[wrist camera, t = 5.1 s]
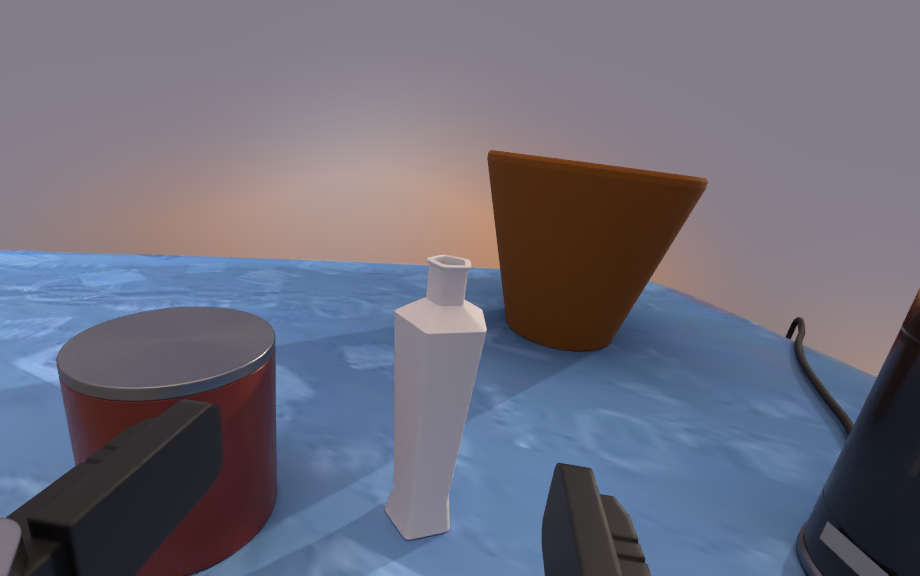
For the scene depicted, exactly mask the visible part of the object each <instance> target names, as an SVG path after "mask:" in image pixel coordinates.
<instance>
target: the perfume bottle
mask: <svg viewBox="0 0 920 576" xmlns="http://www.w3.org/2000/svg"><path fill="white" fill-rule="evenodd" d="M427 261H428V262H429V264H430V265H429V274H428V283H427V293H426V297H424V298H422V299H420V300H417V301H415V302H412V303H410V304H407V305H405V306H403V307H400V308H398V309H396V310H395V356H394V488H393V490H392V492H391V495H390V497H389V499H388V502H387V504H386V506H385V512H386V513H387V515H388V516H389V517H390V519H391V520H392V522H393V523H394V525H395V526H396V527H397V529H398V530H399V532H400V533H401V535H402V536H403V537H404V538H405V539H407V540H411V539H416V538H421V537H426V536H430V535H435V534H440V533H444V532H447V531H448V530H449V528H450V518H449V491H450V487H451V483H452V478H453V474H454V469H455V465H456V461H457V456H458V452H459V448H460V443H461V439H462V435H463V430H464V426H465V422H466V417H467V413H468V409H469V404H470V400H471V396H472V391H473V387H474V383H475V378H476V374H477V370H478V365H479V361H480V357H481V352H482V348H483V344H484V339H485V335H486V331H487V328H486V324H485V320H484V315H483V311H482V309H480V308H478V307H477V306H475V305H473V304H472V303H470V302H468V301H467V300H465V299H464V298H465V291H466V283H467V276H468V270H470V269H471V267H472V266H471V262H470V260H468V259H464V258H459V257H453V256H448V255H438V256H434V257H429V258H427Z"/></svg>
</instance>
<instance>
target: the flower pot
mask: <svg viewBox="0 0 920 576" xmlns="http://www.w3.org/2000/svg"><path fill="white" fill-rule="evenodd" d="M487 159H488V167H489V175H490V184H491V192H492V202H493V210H494V218H495V227H496V236H497V245H498V253H499V261H500V270H501V279H502V288H503V296H504V305H505V313H506V321H507V323H508V325H509V326H510V327H511V328H512V329H513V330H514V331H515V332H516V333H518V334H519V335H521V336H522V337H524V338H526V339H528V340H530V341H533V342H535V343H538V344H541V345H544V346H548V347H551V348H556V349H561V350H568V351H592V350H598V349H601V348H604V347H606V346H607V345H609V344H610V343H611V341H612V339H613V338H614V336H615V335H616V333H617V331H618V330H619V328H620V326H621V325H622V323H623V322H624V320H625V318H626V317H627V315H628V314H629V312H630V310H631V309H632V307H633V305H634V304H635V302H636V301H637V299H638V297H639V296H640V294H641V292H642V291H643V289H644V288H645V286H646V284H647V283H648V281H649V280H650V278H651V276H652V275H653V273H654V271H655V270H656V268H657V267H658V265H659V263H660V262H661V260H662V259H663V257H664V255H665V254H666V252H667V250H668V249H669V247H670V245H671V244H672V242H673V241H674V239H675V237H676V236H677V234H678V233H679V231H680V229H681V228H682V226H683V224H684V223H685V221H686V220H687V218H688V216H689V214H690V213H691V212H692V210H693V208H694V207H695V205H696V203H697V202H698V200H699V199H700V197H701V195H702V194H703V192H704V191H705V189H706V187H707V183H708V181H707V179H706V178H699V177H692V176H685V175H678V174H670V173H663V172H656V171H648V170H641V169H633V168H625V167H618V166H610V165H603V164H595V163H588V162H580V161H572V160H564V159H557V158H549V157H542V156H534V155H526V154H518V153H510V152H502V151H494V150H491V151H490V152H489V153H488V158H487Z"/></svg>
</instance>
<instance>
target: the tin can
mask: <svg viewBox="0 0 920 576" xmlns="http://www.w3.org/2000/svg"><path fill="white" fill-rule="evenodd" d="M56 361H57V369H58V374H59V380H60V385H61V391H62V396H63V401H64V407H65V412H66V417H67V423H68V428H69V433H70V439H71V444H72V449H73V455H74V460H75V465H76V466H77V465H78V464H79V463H81V462H83V463H84V462H85V461H86V458H88V457H89V456H90V455H92V454H93V453H94V452H96V451H97V450H98V449H100V448H101V449H103V448H104V445H105V444H107V443H108V442H109V441H111V440H112V439H113V438H115V437H116V436H117V435H119V434H120V433H122V432H123V431H124V430H126V429H127V428H130V427H132V426H134V425H136V424H139V423H141V422H143V421H145V420H147V419H150V418H152V417H156V418H157V417H158V416H160V415H161V414H162V413H164V412H165V411H166V410H168V409H169V408H170V407H171V406H173V405H174V404H175V403H177V402H178V401H180V400H183V399H188V400H194V401H200V402H206V403H211V404H216V405H218V406H219V408H220V411H221V429H222V450H223V461H222V467H221V470H220V473H219V475H218V477H217V479H216V481H215V483H214V484H213V485H212V487H211V488H210V489H209V490H208V491H207V493H206V494H205V495H204V496H203V497H202V498H201V499H200V501H199V502H198V503H197V504H196V505H195V506H194V508H193V509H192V510H191V511H190V512H189V513H188V514H187V516H186V517H185V518H184V519H183V520H182V521H181V523H180V524H179V525H178V526H177V527H176V528H175V529H174V531H173V532H172V533H171V534H170V535H169V536H168V538H167V539H166V540H165V541H164V542H163V543H162V544H161V546H160V547H159V548H158V549H157V550H156V551H155V553H154V554H153V555H152V556H151V557H150V558H149V559H148V561H147V562H146V563H145V564H144V565H143V566H142V568H141V569H140V570H139V571H138V572H137V573H136V574H135V576H185V575H189V574H192V573H195V572H198V571H200V570H203V569H206V568H208V567H210V566H212V565H214V564H216V563H218V562H220V561H222V560H223V559H225V558H227V557H229V556H230V555H232V554H233V553H235V552H236V551H237V550H239V549H240V548H242V547H243V546H244V545H245V544H246V543H248V542H249V541H250V540H251V539H252V538H253V537H254V536H255V535H256V534H257V533H258V532H259V531H260V529H261V528H262V527H263V525H264V524H265V523H266V521H267V520H268V518H269V516H270V515H271V512H272V510H273V508H274V505H275V501H276V495H277V460H276V365H275V332H274V330H273V328H272V326H271V325H270V324H269V323H268V322H266V321H265V320H264V319H262V318H260V317H258V316H256V315H253V314H250V313H247V312H243V311H239V310H234V309H228V308H218V307H176V308H166V309H158V310H151V311H145V312H140V313H135V314H131V315H127V316H123V317H119V318H116V319H112V320H109V321H106V322H104V323H101V324H98V325H96V326H93V327H91V328H89V329H87V330H85V331H83V332H81V333H79V334H77V335H76V336H75V337H73V338H72V339H70V340H69V341H68V342H67V343H66V344H65V345H63V347H62V348H61V349H60V351H59V353H58V356H57V358H56Z"/></svg>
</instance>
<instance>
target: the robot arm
mask: <svg viewBox="0 0 920 576" xmlns="http://www.w3.org/2000/svg"><path fill="white" fill-rule="evenodd" d="M797 325H798V331H799V333H798V335H797V338H796V340H795V351H796V355H797V358H798V360H799V363H800V365H801V367H802V369H803V371H804V372H805V374H806V376H807V377H808V379H809V380H810V381H811V383H812V384H813V386H814V387H815V389H816V390H817V391H818V393H819V394H820V396H821V397H822V399H823V400H824V401H825V402H826V404H827V405H828V406H829V407H830V409H831V410H832V411H833V412H834V414H835V415H836V416H837V417H838V419H839V420H840V422H841V423H842V425H843V426H844V428H845V430H846V432H847V434H848V439H847V441H846V443H845V445H844V447H843V449H842V451H841V453H840V455H839V457H838V459H837V461H836V464H835V466H834V468H833V470H832V472H831V474H830V476H829V478H828V480H827V482H826V484H825V485H824V487H823V490H822V492H821V494H820V496H819V498H818V500H817V502H816V504H815V506H814V508H813V510H812V513H811V515H810V517H809V519H808V520H807V521H806V522H805V523H804V524H803V526H802V528H801V530H800V532H799V535H798V537H797V543H796V546H797V552H798V555H799V558H800V561H801V563H802V565H803V567H804V569H805V571H806V572H807V574H808V575H809V576H920V289H919V291H918V293H917V295H916V297H915V299H914V301H913V303H912V305H911V307H910V309H909V312H908V314H907V316H906V318H905V320H904V322H903V324H902V327H901V329H900V331H899V333H898V335H897V338H896V340H895V341H894V344H893V346H892V348H891V350H890V352H889V354H888V356H887V358H886V360H885V362H884V364H883V366H882V369H881V371H880V372H879V375H878V377H877V379H876V381H875V383H874V385H873V387H872V389H871V391H870V393H869V395H868V397H867V399H866V401H865V404H864V406H863V408H862V410H861V412H860V414H859V416H858V418H857V420H856V422H855V424H853V423H852V421H851V420H850V418H849V417H848V415H847V414H846V413H845V412H844V411H843V409H842V408H841V407H840V406H839V405H838V403H837V402H836V401H835V400H834V399H833V398H832V396H831V395H830V394H829V393H828V391H827V390H826V389H825V387H824V386H823V384H822V383H821V382H820V381H819V379H818V378H817V377H816V375H815V374H814V372H813V371H812V369H811V368H810V366H809V364H808V363H807V360H806V358H805V356H804V353H803V347H802V340H803V338H804V335H805V325H804V321H803V319H802V318H800V317H798V318H796V319H794V321H793V322H792V324H791V326H790V328H789V330H788V332H787V335H786V338H788V339H790V340H791V338H792V335H793V333H794V331H795V329H796V327H797ZM222 461H223V450H222V429H221V411H220V408H219V406H218V405H216V404H211V403H206V402H200V401H194V400H188V399H183V400H180V401H178V402H177V403H175V404H174V405H173V406H171V407H170V408H169V409H168V410H166V411H165V412H164V413H162V414H161V415H160V416H158V417H157V418H156V417H152V418H150V419H147V420H145V421H143V422H141V423H139V424H136V425H134V426H132V427H130V428H127V429H126V430H124V431H123V432H122V433H120V434H119V435H117V436H116V437H115V438H113V439H112V440H111V441H109V442H108V443H107V444H105V445H104V448H103V449H101V448H100V449H98V450H97V451H96V452H94V453H93V454H92V455H90V456H89V457H88V458H86V461H85V462H84V463H83V462H81V463H79V464H78V465H77V466H75V467H74V468H73V469H71V470H70V471H69V472H67V473H66V474H65V475H63V476H62V477H60V478H59V479H58V480H56V481H55V482H54V483H52V484H51V485H50V486H48V487H47V488H46V489H44V490H43V491H41V492H40V493H39V494H37V495H36V496H35V497H33V498H32V499H31V500H29V501H28V502H27V503H25V504H24V505H22V506H21V507H20V508H18V509H17V510H16V511H14V512H13V513H12V514H10V515H9V516H7V517H6V518H0V576H135V574H136V573H137V572H138V571H139V570H140V569H141V568H142V566H143V565H144V564H145V563H146V562H147V561H148V559H149V558H150V557H151V556H152V555H153V554H154V553H155V551H156V550H157V549H158V548H159V547H160V546H161V544H162V543H163V542H164V541H165V540H166V539H167V538H168V536H169V535H170V534H171V533H172V532H173V531H174V529H175V528H176V527H177V526H178V525H179V524H180V523H181V521H182V520H183V519H184V518H185V517H186V516H187V514H188V513H189V512H190V511H191V510H192V509H193V508H194V506H195V505H196V504H197V503H198V502H199V501H200V499H201V498H202V497H203V496H204V495H205V494H206V493H207V491H208V490H209V489H210V488H211V487H212V485H213V484H214V483H215V481H216V479H217V477H218V475H219V473H220V470H221V467H222ZM542 551H543V561H544V571H545V576H651V574H650V571H649V568H648V566H647V564H645V557H644V554H643V551H642V549H641V546H640V544H638V537H637V534H636V532H635V529H634V526H633V523H632V520H631V518H630V516H629V515H628V514H627V512H626V511H625V510H624V509H623V507H622V506H621V505H620V503H619V502H618V501H617V500H616V498H615V497H613V496H607V495H601V494H599V491H598V487H597V484H596V481H595V477H594V474H593V471H592V469H591V468H587V467H581V466H575V465H569V464H563V463H557V464H556V467H555V470H554V474H553V478H552V482H551V486H550V490H549V495H548V499H547V503H546V507H545V512H544V516H543V523H542Z"/></svg>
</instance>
